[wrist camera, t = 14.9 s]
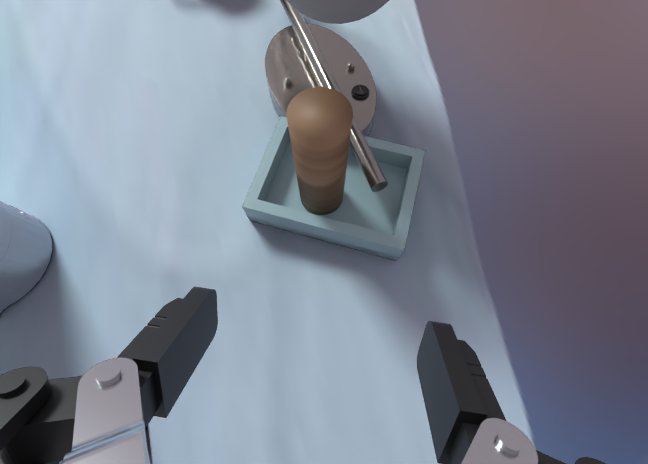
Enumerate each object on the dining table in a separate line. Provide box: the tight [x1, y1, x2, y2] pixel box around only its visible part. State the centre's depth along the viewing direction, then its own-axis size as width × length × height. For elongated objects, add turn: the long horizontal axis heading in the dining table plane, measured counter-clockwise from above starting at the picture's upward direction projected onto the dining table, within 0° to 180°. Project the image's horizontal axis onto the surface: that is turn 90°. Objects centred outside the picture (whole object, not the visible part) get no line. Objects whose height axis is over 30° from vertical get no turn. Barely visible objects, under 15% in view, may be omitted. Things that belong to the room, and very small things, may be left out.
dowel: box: [287, 87, 353, 215], centre depth 24 cm, size 4×4×11 cm
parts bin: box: [242, 116, 425, 260], centre depth 29 cm, size 10×14×3 cm
